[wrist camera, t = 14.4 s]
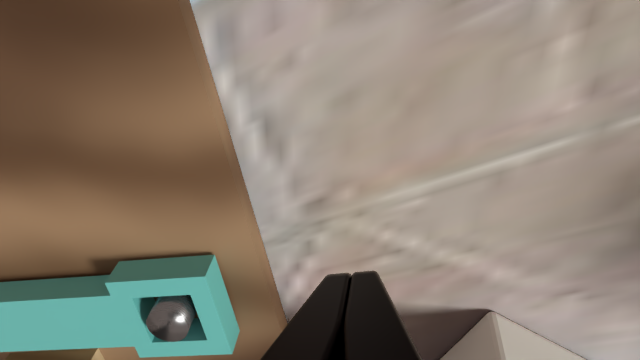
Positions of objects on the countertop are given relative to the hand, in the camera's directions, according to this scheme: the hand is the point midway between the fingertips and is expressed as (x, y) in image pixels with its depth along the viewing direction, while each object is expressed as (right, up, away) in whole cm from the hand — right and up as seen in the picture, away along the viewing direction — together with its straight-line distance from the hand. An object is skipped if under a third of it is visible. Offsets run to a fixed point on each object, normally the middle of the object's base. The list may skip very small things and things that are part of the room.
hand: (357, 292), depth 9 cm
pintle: (-7, -3, +16) cm, 18 cm away
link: (-15, -4, +17) cm, 23 cm away
